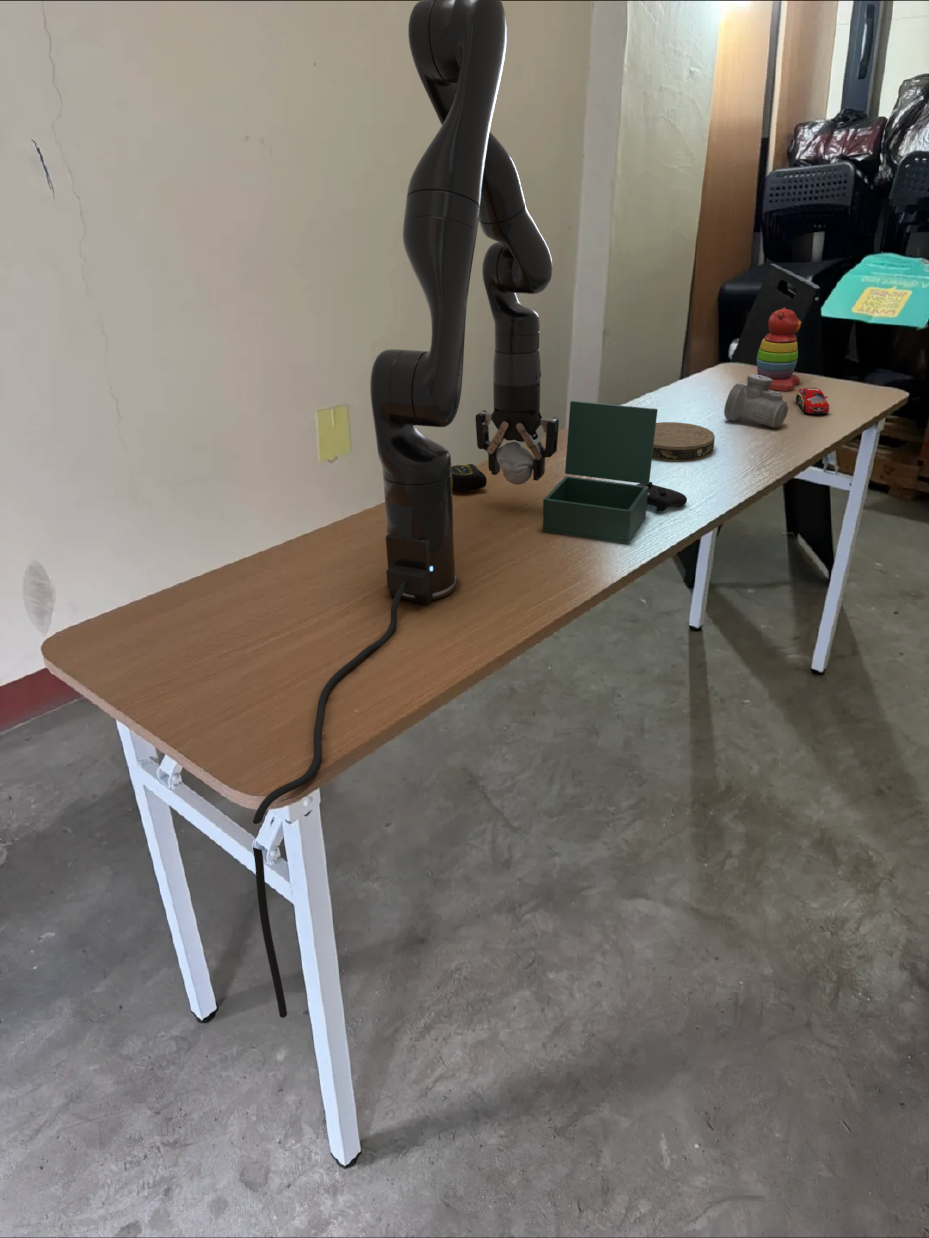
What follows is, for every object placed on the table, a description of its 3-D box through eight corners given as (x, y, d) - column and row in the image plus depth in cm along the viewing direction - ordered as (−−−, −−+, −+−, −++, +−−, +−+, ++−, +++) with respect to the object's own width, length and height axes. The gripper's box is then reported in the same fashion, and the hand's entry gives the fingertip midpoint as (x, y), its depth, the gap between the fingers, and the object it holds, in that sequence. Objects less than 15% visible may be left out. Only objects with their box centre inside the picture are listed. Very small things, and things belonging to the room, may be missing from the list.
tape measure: (488, 492, 156) (487, 473, 154) (451, 498, 154) (451, 478, 152) (476, 480, 161) (475, 461, 159) (440, 485, 160) (440, 465, 158)
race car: (830, 417, 189) (833, 399, 187) (804, 416, 190) (807, 398, 188) (818, 400, 200) (821, 383, 198) (793, 399, 201) (796, 382, 199)
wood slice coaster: (701, 434, 181) (702, 420, 179) (722, 460, 167) (724, 445, 165) (625, 437, 180) (626, 423, 179) (640, 463, 167) (642, 448, 165)
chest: (628, 544, 135) (630, 511, 132) (542, 531, 140) (543, 499, 137) (645, 518, 144) (648, 486, 141) (564, 506, 149) (565, 476, 146)
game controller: (690, 499, 148) (680, 483, 143) (676, 526, 147) (665, 511, 142) (642, 486, 154) (630, 470, 149) (629, 512, 153) (616, 497, 148)
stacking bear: (790, 392, 207) (803, 314, 198) (748, 387, 211) (758, 311, 202) (800, 381, 215) (813, 306, 206) (759, 377, 219) (769, 304, 210)
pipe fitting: (718, 420, 187) (730, 373, 182) (734, 415, 192) (747, 369, 187) (769, 437, 181) (784, 389, 175) (785, 431, 186) (800, 384, 181)
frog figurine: (508, 474, 151) (508, 435, 147) (543, 481, 147) (544, 442, 143) (489, 484, 146) (488, 445, 143) (524, 493, 143) (524, 452, 139)
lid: (656, 409, 136) (657, 408, 136) (570, 401, 141) (571, 400, 142) (648, 484, 140) (649, 483, 141) (564, 473, 146) (566, 473, 146)
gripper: (466, 380, 137) (468, 478, 146) (551, 387, 132) (549, 489, 140) (484, 369, 143) (485, 464, 152) (567, 375, 138) (564, 474, 146)
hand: (516, 476), depth 146 cm, fingers closed on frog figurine, 7 cm apart
